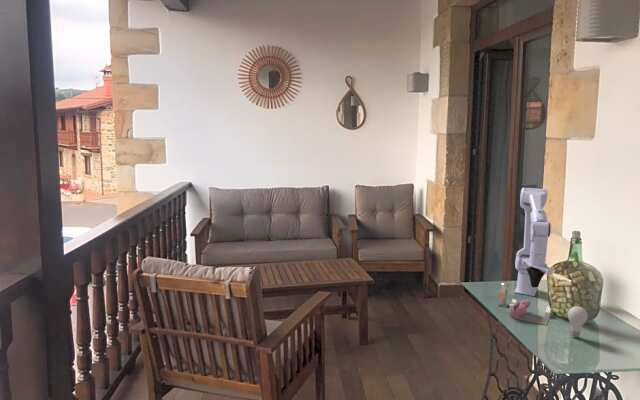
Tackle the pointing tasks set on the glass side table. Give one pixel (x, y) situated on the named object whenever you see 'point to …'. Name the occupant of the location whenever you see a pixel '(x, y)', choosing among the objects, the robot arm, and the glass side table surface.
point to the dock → (504, 304)
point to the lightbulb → (577, 319)
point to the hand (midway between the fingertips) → (534, 286)
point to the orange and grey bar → (503, 289)
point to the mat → (533, 318)
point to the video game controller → (520, 308)
